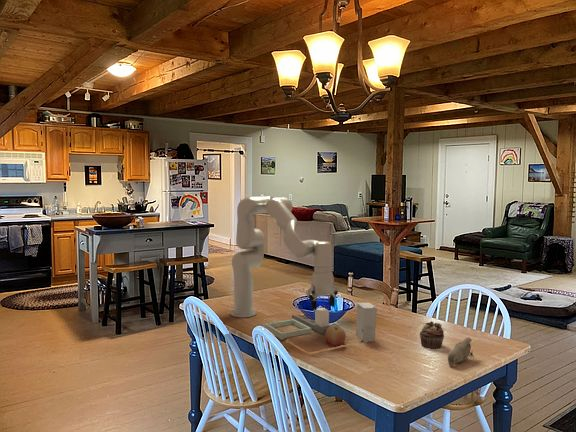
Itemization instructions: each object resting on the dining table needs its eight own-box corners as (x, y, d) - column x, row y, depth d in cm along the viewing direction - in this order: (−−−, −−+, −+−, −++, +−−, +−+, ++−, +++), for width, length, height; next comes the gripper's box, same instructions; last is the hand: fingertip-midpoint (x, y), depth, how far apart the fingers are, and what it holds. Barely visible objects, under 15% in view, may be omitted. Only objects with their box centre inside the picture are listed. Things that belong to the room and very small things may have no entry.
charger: (314, 328, 213) (315, 308, 212) (322, 326, 215) (322, 307, 214) (321, 331, 209) (321, 311, 208) (328, 329, 211) (328, 310, 210)
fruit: (329, 349, 190) (329, 330, 189) (322, 342, 198) (323, 324, 197) (348, 347, 192) (348, 328, 191) (340, 341, 200) (341, 322, 199)
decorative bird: (443, 365, 175) (443, 346, 174) (461, 354, 186) (462, 335, 186) (457, 370, 171) (458, 349, 170) (475, 358, 183) (476, 339, 182)
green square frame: (264, 330, 212) (264, 323, 212) (293, 325, 220) (293, 319, 220) (281, 340, 200) (281, 333, 199) (311, 334, 207) (311, 328, 207)
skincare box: (355, 336, 206) (356, 302, 205) (368, 335, 208) (368, 301, 206) (362, 342, 198) (363, 307, 197) (376, 341, 200) (377, 306, 198)
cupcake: (445, 344, 197) (446, 321, 196) (440, 351, 188) (441, 327, 188) (422, 340, 202) (423, 317, 201) (416, 347, 193) (417, 323, 192)
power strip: (286, 318, 232) (286, 310, 231) (298, 316, 235) (298, 308, 235) (322, 336, 205) (323, 328, 205) (336, 334, 209) (336, 326, 208)
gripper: (333, 266, 217) (333, 303, 218) (301, 270, 208) (302, 308, 209) (343, 268, 211) (343, 306, 212) (311, 272, 202) (311, 312, 203)
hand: (323, 307), depth 211 cm, fingers open, 9 cm apart
